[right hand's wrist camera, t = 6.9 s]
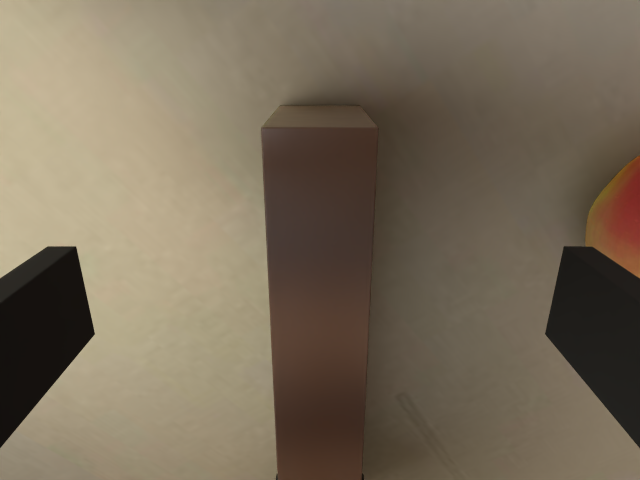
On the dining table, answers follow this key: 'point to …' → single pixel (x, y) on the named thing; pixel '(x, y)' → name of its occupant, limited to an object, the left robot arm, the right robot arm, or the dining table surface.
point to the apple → (618, 219)
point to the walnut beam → (319, 283)
